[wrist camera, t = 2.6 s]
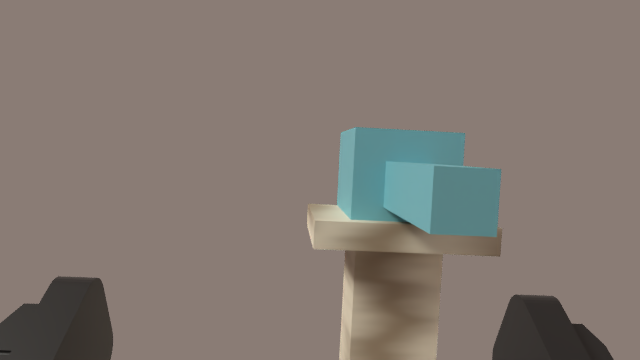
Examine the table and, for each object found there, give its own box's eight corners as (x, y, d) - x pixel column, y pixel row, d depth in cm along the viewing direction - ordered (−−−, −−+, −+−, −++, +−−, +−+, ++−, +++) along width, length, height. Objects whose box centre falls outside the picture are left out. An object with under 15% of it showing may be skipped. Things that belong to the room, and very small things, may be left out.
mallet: (381, 252, 19) (389, 114, 19) (337, 205, 37) (340, 132, 37) (541, 258, 20) (550, 123, 20) (422, 208, 37) (426, 137, 37)
